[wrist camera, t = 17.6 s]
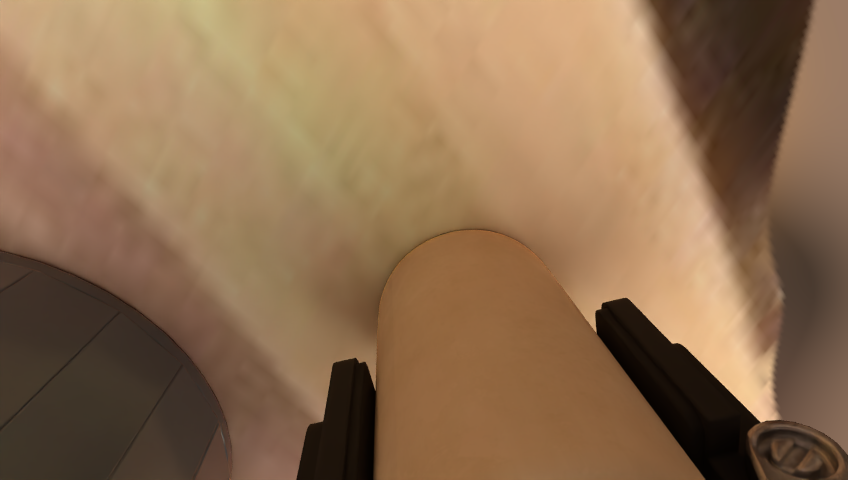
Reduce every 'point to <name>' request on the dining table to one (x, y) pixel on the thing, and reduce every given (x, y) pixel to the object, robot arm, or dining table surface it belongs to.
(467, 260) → the candle
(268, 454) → the dining table surface
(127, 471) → the bowl
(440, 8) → the dining table surface
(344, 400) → the robot arm
